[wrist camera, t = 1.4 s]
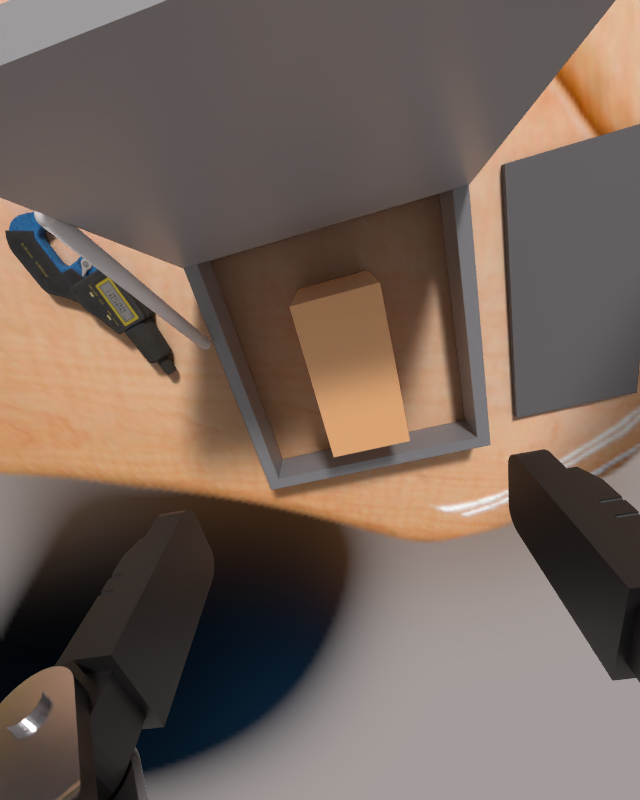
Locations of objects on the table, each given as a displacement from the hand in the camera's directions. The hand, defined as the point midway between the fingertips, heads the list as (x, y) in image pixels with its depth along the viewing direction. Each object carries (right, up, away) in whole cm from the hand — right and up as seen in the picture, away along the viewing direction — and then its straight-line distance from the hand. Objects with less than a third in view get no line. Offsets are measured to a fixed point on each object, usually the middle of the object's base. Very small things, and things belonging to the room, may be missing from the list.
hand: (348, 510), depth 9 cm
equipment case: (0, +8, +15) cm, 17 cm away
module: (+1, +6, +16) cm, 17 cm away
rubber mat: (+15, +10, +14) cm, 23 cm away
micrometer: (-15, +10, +15) cm, 23 cm away
